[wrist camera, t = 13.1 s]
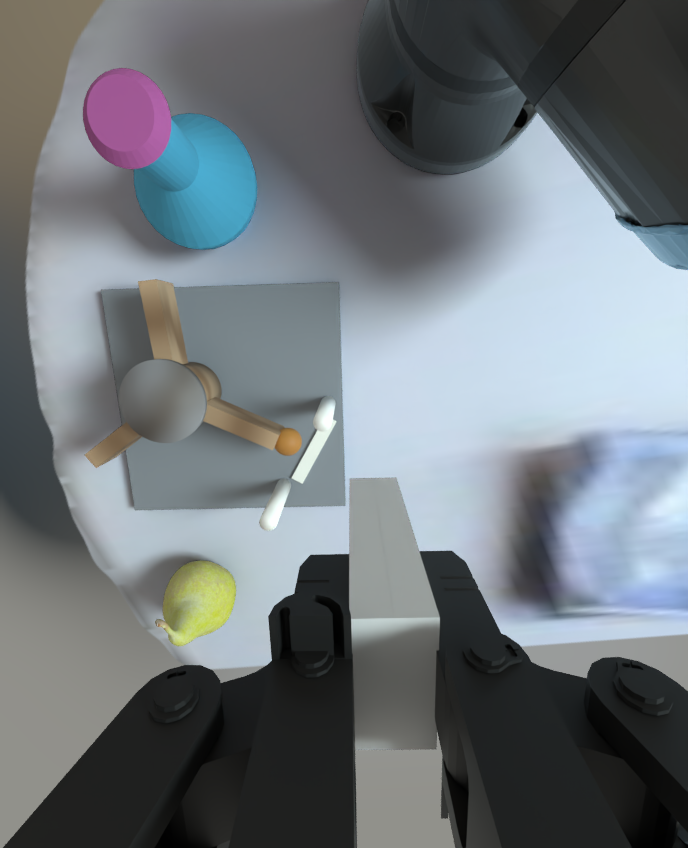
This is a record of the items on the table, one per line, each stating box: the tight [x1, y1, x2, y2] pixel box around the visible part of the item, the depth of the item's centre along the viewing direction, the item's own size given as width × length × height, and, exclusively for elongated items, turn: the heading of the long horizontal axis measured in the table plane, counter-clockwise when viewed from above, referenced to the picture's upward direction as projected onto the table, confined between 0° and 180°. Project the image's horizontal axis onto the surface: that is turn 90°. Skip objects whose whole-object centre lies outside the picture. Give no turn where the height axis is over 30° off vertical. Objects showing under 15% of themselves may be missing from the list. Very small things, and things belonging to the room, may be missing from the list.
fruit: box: [155, 561, 236, 646], centre depth 38 cm, size 7×8×12 cm
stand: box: [101, 282, 345, 531], centre depth 35 cm, size 21×21×9 cm
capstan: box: [85, 279, 302, 468], centre depth 35 cm, size 16×16×7 cm
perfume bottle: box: [83, 68, 257, 250], centre depth 28 cm, size 9×9×15 cm
